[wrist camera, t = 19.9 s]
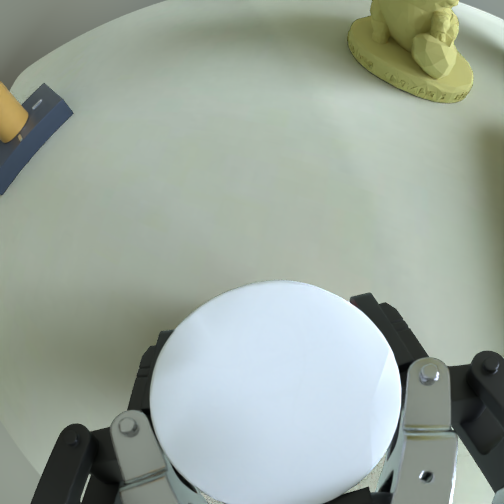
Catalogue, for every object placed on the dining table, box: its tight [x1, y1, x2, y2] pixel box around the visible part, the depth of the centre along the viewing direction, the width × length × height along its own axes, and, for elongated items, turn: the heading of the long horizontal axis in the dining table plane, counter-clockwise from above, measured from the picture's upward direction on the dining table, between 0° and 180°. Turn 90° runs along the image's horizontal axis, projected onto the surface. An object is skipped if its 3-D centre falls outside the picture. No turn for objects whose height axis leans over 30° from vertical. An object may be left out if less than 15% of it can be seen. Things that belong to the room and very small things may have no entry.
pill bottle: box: [150, 280, 401, 504], centre depth 10 cm, size 6×6×11 cm
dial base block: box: [0, 83, 73, 195], centre depth 23 cm, size 12×9×3 cm
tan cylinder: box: [0, 81, 28, 143], centre depth 19 cm, size 4×4×6 cm
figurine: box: [347, 0, 473, 103], centre depth 15 cm, size 15×14×15 cm
